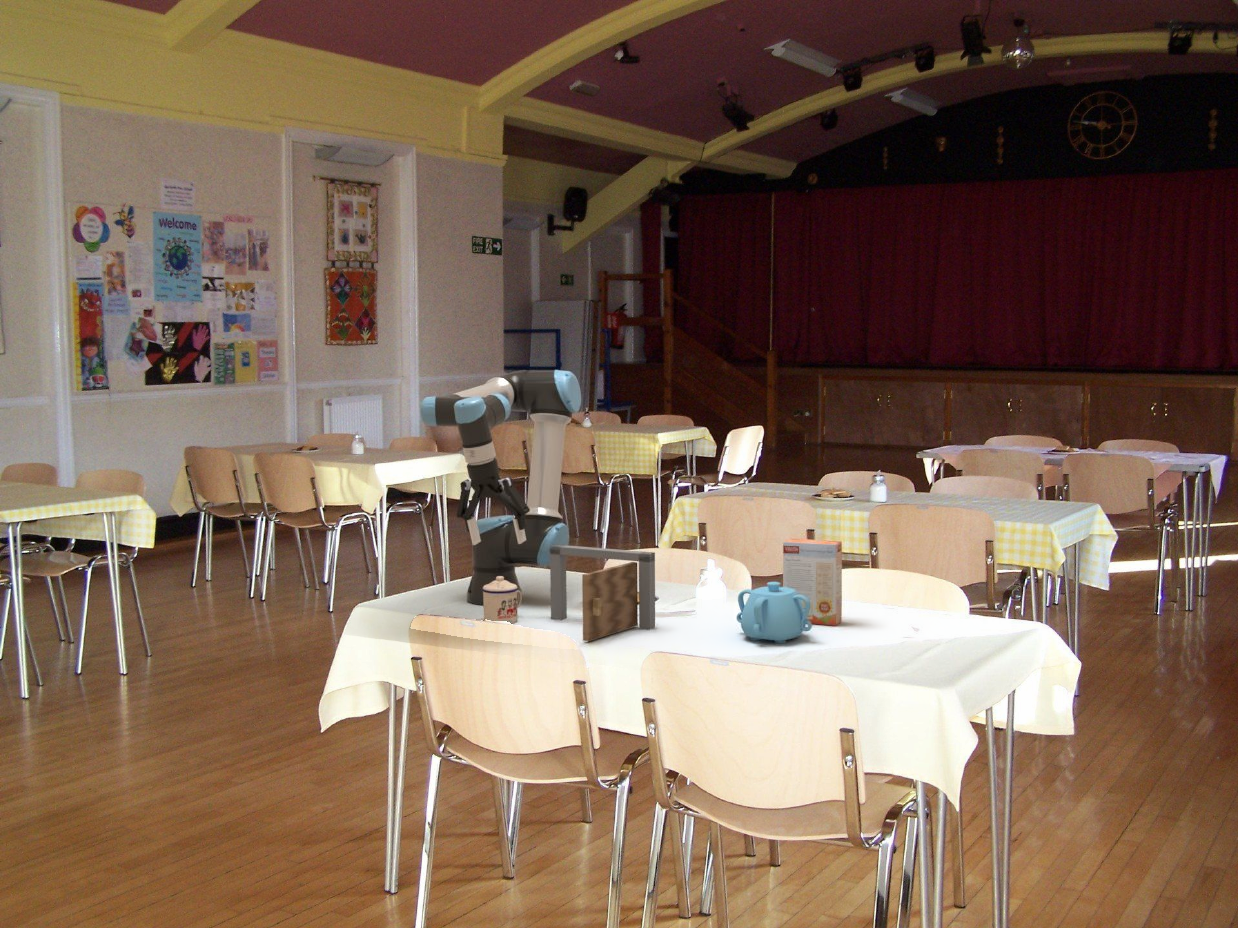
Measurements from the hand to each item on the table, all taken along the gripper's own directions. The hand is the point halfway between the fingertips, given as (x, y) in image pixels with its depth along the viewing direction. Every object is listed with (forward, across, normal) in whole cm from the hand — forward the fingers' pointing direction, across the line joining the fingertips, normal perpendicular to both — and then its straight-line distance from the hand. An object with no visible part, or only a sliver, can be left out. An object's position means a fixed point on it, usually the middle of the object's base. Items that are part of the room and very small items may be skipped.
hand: (499, 542), depth 317 cm
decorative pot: (+32, +61, +17) cm, 71 cm away
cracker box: (+37, +64, +36) cm, 82 cm away
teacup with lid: (+23, -7, +5) cm, 25 cm away
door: (+25, +26, +3) cm, 36 cm away
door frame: (+27, +16, +13) cm, 34 cm away
